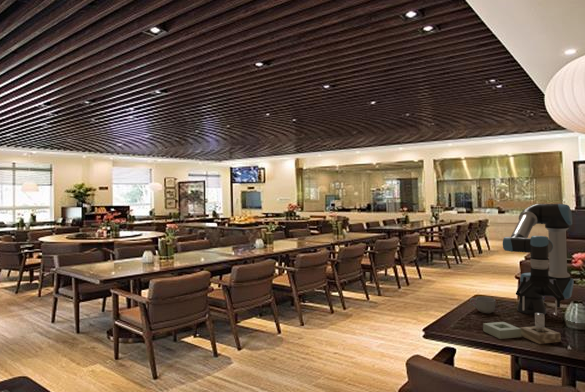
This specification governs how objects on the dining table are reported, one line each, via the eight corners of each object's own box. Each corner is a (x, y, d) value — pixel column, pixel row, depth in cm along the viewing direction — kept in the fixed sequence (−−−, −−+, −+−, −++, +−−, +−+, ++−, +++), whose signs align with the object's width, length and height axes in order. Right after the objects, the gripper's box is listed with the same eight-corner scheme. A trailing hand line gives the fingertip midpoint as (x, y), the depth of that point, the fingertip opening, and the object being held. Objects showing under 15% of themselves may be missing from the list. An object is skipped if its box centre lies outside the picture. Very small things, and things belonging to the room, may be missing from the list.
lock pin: (539, 337, 204) (539, 312, 204) (546, 339, 200) (546, 314, 200) (533, 337, 203) (532, 312, 203) (539, 340, 199) (539, 315, 199)
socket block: (503, 329, 216) (503, 321, 216) (521, 337, 204) (521, 328, 204) (483, 331, 213) (483, 323, 213) (499, 338, 201) (499, 330, 201)
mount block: (540, 333, 209) (540, 325, 209) (560, 341, 197) (560, 333, 197) (519, 335, 206) (519, 327, 206) (539, 343, 194) (539, 335, 194)
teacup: (496, 311, 250) (496, 297, 250) (494, 315, 241) (494, 301, 241) (471, 308, 258) (471, 295, 258) (468, 312, 249) (468, 298, 249)
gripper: (509, 266, 205) (509, 309, 205) (570, 271, 192) (570, 317, 192) (511, 264, 211) (511, 306, 211) (570, 269, 198) (570, 314, 198)
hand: (539, 312), depth 201 cm, fingers open, 13 cm apart
